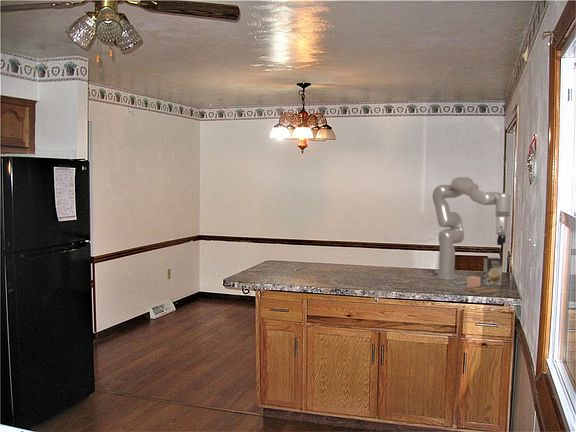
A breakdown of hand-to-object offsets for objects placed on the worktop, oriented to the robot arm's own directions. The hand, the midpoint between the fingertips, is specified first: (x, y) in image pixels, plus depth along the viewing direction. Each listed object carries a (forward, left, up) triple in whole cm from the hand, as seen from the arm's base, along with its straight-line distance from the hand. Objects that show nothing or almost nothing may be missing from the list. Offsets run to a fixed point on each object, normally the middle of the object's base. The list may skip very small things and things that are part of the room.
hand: (501, 243), depth 321 cm
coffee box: (-12, +10, -27) cm, 31 cm away
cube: (-15, -4, -27) cm, 31 cm away
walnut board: (-3, -12, -27) cm, 30 cm away
